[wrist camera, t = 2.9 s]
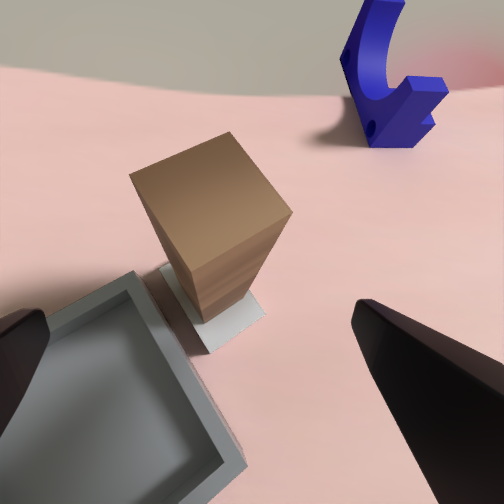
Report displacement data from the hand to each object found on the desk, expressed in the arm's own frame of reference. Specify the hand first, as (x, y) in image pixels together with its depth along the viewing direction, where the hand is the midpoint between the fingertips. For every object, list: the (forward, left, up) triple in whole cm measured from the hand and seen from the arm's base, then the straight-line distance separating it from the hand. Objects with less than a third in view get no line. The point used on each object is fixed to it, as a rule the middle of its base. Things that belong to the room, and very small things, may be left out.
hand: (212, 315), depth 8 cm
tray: (-8, 0, -10) cm, 12 cm away
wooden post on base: (+1, +2, -10) cm, 10 cm away
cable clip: (+25, +10, -10) cm, 29 cm away
